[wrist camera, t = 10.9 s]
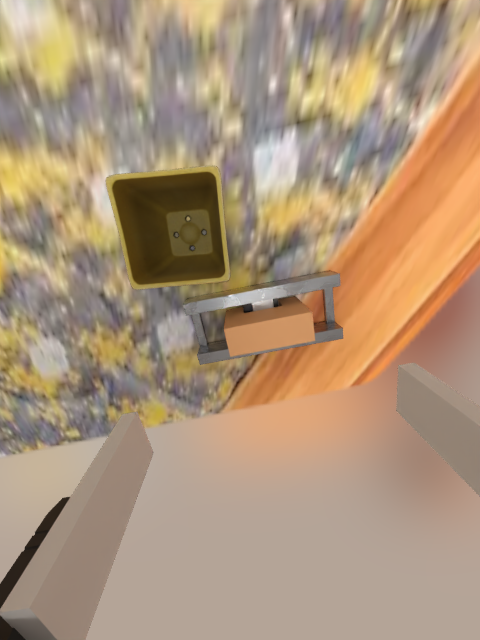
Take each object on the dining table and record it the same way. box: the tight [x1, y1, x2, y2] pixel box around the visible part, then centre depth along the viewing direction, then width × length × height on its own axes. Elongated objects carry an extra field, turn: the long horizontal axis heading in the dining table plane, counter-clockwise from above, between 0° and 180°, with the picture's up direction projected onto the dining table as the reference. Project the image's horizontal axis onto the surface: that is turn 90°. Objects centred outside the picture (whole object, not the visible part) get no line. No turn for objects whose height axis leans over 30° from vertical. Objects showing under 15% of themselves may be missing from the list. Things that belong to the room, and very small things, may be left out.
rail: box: [183, 270, 343, 365], centre depth 29 cm, size 18×8×3 cm, turn 101°
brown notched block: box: [224, 296, 315, 357], centre depth 27 cm, size 9×3×7 cm, turn 101°
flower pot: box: [106, 166, 230, 290], centre depth 23 cm, size 9×9×9 cm
